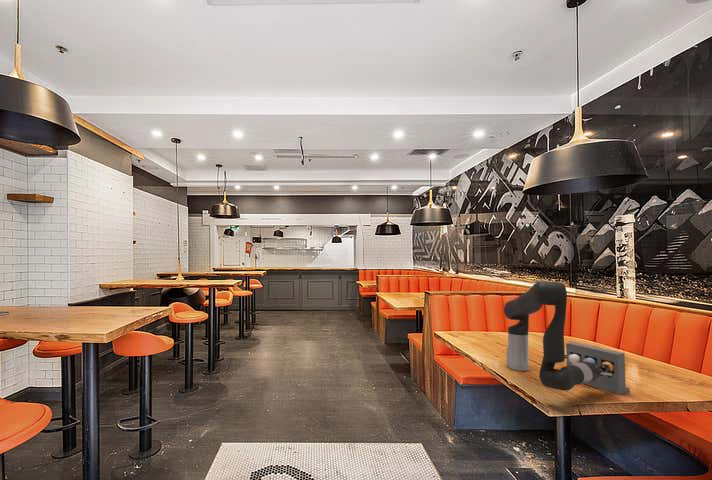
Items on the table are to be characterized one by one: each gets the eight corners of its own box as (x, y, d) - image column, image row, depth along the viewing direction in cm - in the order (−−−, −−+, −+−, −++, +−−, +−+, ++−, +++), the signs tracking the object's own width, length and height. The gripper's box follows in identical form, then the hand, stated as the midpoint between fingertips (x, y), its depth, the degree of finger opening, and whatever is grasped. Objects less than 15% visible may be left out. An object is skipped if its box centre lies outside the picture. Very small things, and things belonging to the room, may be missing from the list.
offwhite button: (568, 362, 155) (568, 353, 156) (572, 361, 157) (572, 352, 157) (577, 364, 152) (577, 355, 152) (581, 364, 153) (581, 354, 153)
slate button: (583, 366, 150) (583, 357, 150) (587, 365, 151) (587, 356, 151) (593, 369, 146) (593, 359, 146) (597, 368, 147) (597, 358, 148)
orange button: (601, 370, 144) (601, 360, 145) (605, 369, 146) (605, 359, 146) (612, 373, 141) (612, 363, 141) (616, 372, 142) (616, 362, 142)
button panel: (567, 378, 157) (566, 343, 158) (577, 376, 161) (576, 341, 162) (619, 394, 139) (617, 354, 140) (629, 391, 142) (628, 352, 143)
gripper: (600, 367, 129) (624, 362, 137) (564, 358, 141) (589, 353, 149) (600, 388, 129) (625, 381, 137) (565, 377, 141) (590, 371, 148)
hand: (606, 366), depth 143 cm, fingers closed
